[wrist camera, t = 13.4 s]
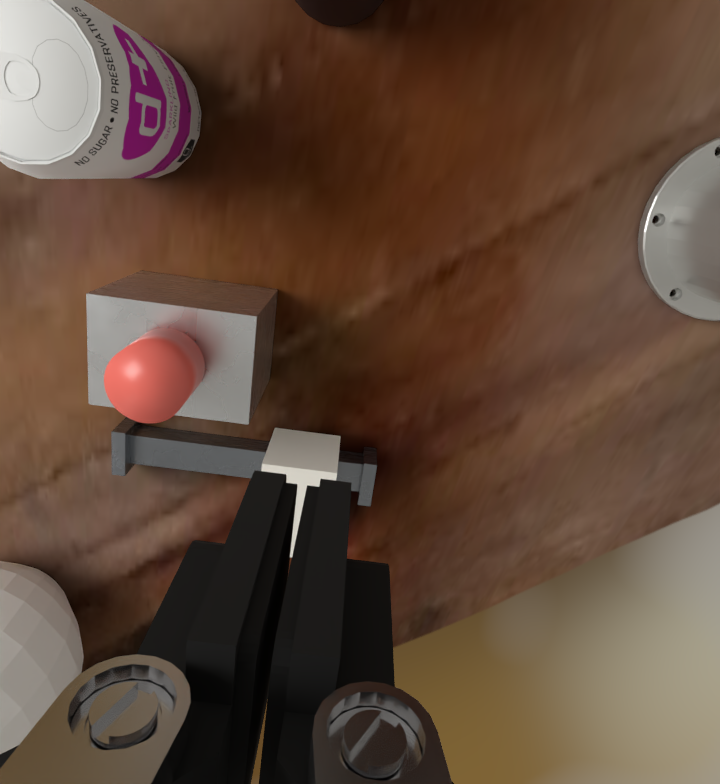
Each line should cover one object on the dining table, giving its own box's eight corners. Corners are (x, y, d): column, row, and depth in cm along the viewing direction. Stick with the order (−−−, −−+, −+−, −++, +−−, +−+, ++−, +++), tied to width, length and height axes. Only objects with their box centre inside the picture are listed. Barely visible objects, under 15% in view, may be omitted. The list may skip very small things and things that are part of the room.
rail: (376, 448, 48) (377, 465, 45) (370, 487, 49) (370, 506, 46) (126, 416, 47) (111, 431, 44) (126, 457, 48) (111, 474, 46)
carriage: (341, 426, 47) (337, 473, 39) (331, 504, 49) (324, 561, 42) (278, 418, 47) (261, 463, 39) (270, 496, 49) (254, 552, 42)
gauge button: (221, 318, 39) (187, 352, 31) (218, 381, 40) (184, 428, 33) (154, 309, 39) (103, 341, 31) (153, 372, 40) (104, 418, 33)
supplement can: (209, 56, 39) (118, -13, 24) (198, 188, 41) (111, 195, 27) (82, 31, 38) (-84, -54, 24) (79, 166, 41) (-71, 161, 27)
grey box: (277, 289, 44) (256, 316, 35) (269, 382, 46) (248, 428, 38) (141, 270, 43) (86, 293, 35) (139, 365, 46) (88, 408, 37)
